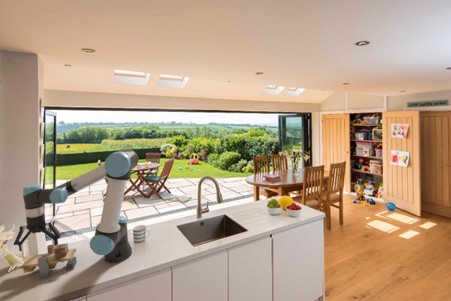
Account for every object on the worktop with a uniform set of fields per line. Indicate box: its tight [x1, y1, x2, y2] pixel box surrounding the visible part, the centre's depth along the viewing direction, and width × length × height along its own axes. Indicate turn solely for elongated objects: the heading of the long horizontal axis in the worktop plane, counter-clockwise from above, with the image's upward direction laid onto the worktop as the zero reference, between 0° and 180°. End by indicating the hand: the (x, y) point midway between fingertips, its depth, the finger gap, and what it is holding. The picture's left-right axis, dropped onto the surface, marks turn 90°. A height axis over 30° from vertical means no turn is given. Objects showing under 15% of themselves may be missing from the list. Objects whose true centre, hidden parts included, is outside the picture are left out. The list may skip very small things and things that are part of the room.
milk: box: [25, 228, 48, 256], centre depth 145 cm, size 6×6×22 cm
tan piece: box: [15, 247, 77, 274], centre depth 132 cm, size 24×11×9 cm, turn 108°
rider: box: [54, 242, 69, 258], centre depth 133 cm, size 5×5×5 cm
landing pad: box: [66, 256, 77, 271], centre depth 136 cm, size 3×7×4 cm, turn 18°
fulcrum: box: [38, 243, 59, 280], centre depth 132 cm, size 4×15×11 cm, turn 19°
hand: (40, 253), depth 130 cm, fingers open, 13 cm apart
